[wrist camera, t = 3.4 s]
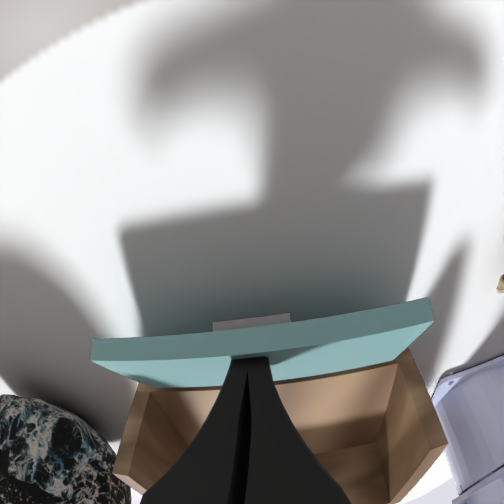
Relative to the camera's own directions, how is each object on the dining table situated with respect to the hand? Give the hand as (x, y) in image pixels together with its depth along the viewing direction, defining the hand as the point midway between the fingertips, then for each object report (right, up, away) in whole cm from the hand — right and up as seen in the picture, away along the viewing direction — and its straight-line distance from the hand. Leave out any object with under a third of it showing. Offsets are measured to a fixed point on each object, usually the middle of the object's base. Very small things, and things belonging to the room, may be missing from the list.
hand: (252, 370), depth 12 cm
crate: (+2, -7, +8) cm, 11 cm away
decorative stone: (-17, -11, +10) cm, 23 cm away
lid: (+1, -2, +4) cm, 5 cm away
